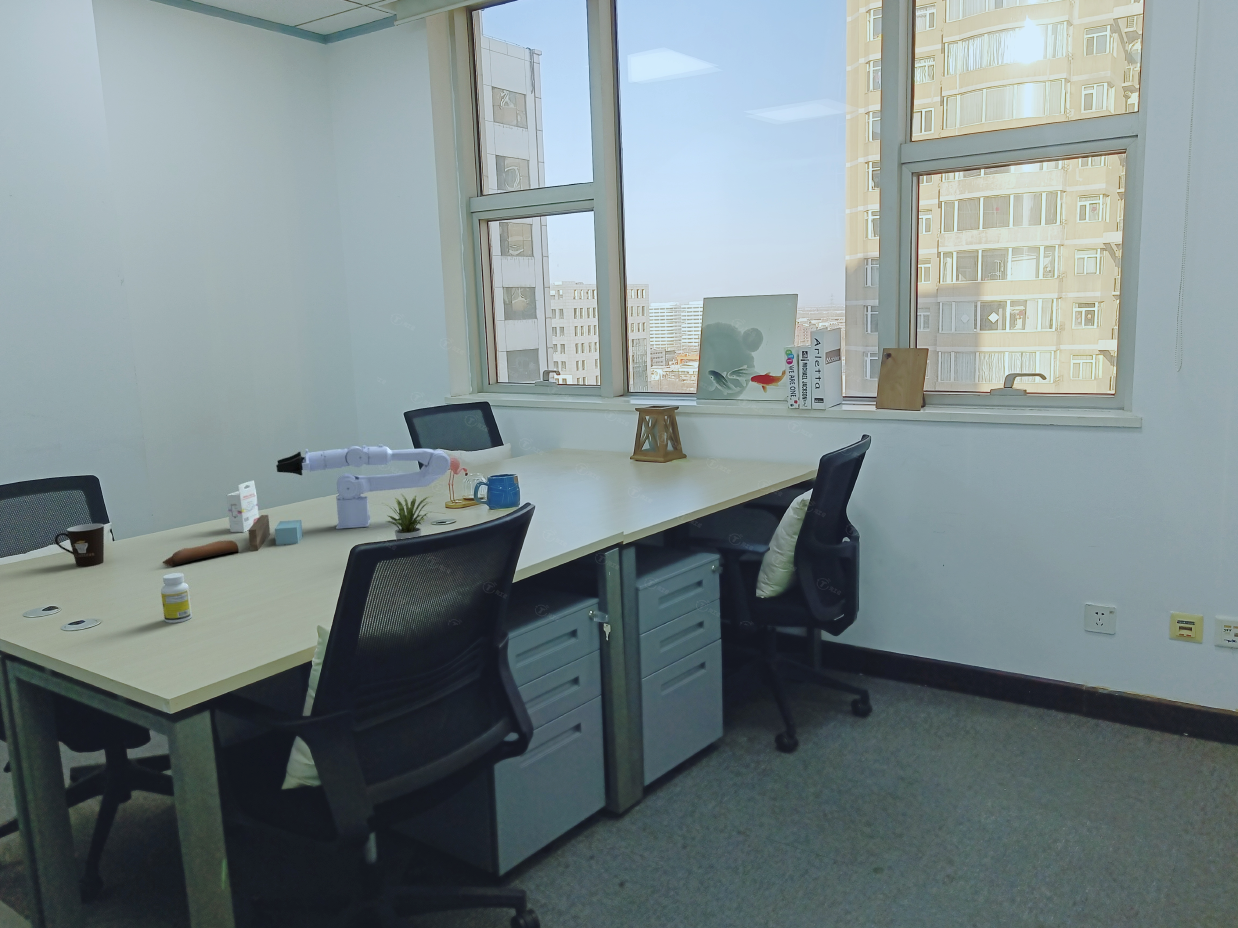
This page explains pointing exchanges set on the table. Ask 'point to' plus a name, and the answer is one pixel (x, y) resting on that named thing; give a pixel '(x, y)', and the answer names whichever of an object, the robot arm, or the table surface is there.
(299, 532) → the teal block
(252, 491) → the ink cartridge box
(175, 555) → the sweet potato
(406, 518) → the house plant
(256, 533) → the walnut board
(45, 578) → the table surface
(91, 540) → the coffee mug
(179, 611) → the supplement bottle
